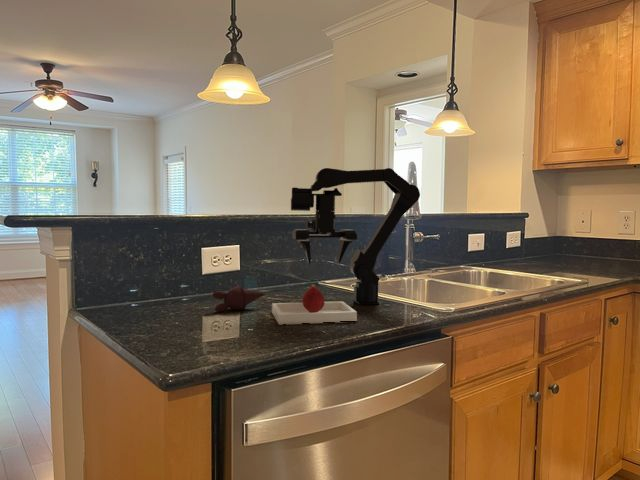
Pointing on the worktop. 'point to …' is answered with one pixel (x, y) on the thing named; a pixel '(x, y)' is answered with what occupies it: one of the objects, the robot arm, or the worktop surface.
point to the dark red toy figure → (236, 298)
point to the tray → (300, 314)
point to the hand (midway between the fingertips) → (324, 263)
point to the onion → (313, 300)
